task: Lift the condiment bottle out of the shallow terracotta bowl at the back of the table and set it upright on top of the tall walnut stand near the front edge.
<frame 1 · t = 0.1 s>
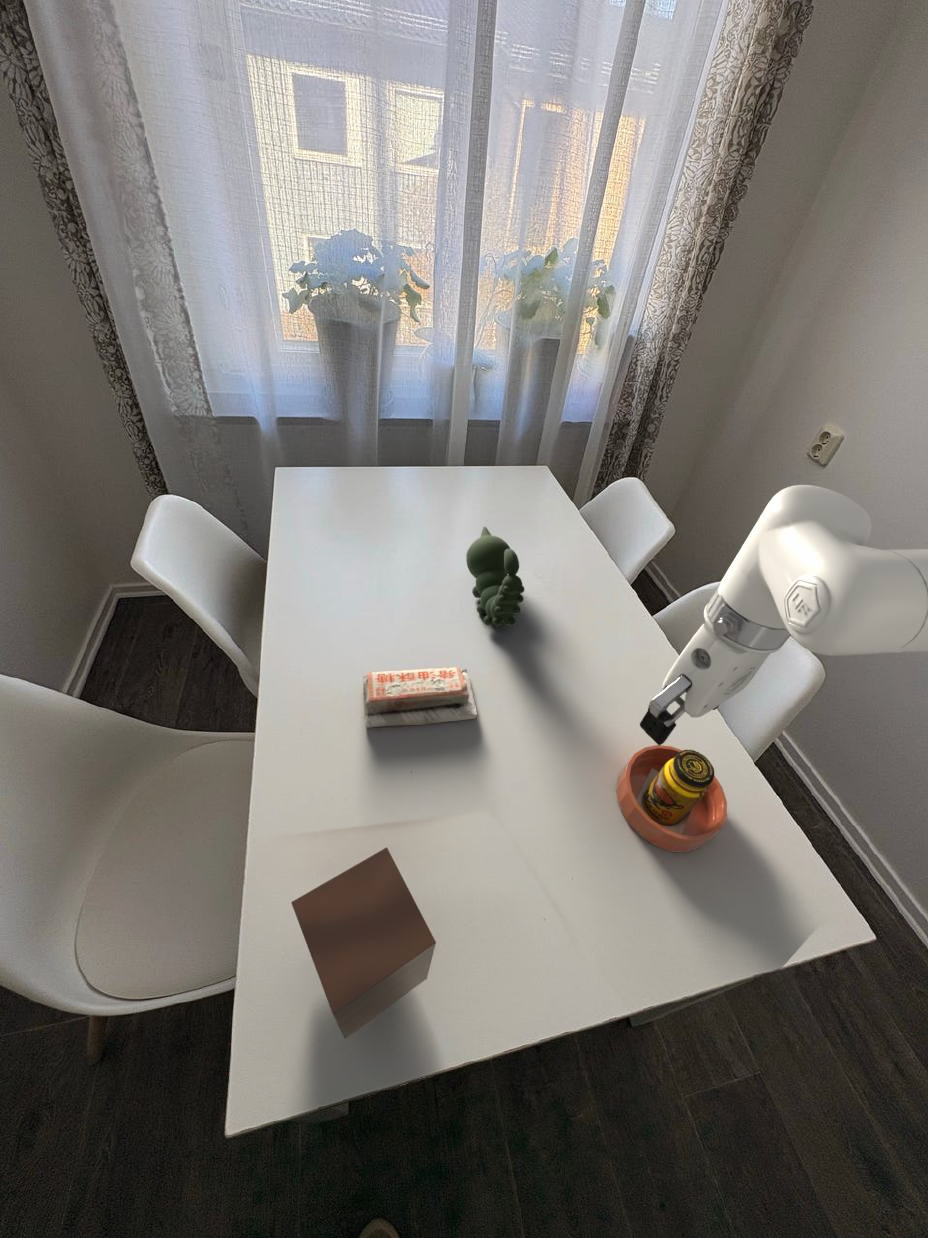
hand: (678, 717, 60), 22 cm above the table, tool pointing down, fingers open, 9 cm apart
dish: (664, 803, 77), on the table
stand: (365, 944, 53), on the table
toy figurine: (489, 600, 105), on the table
packaged product: (418, 700, 85), on the table
condiment: (664, 803, 77), resting on dish
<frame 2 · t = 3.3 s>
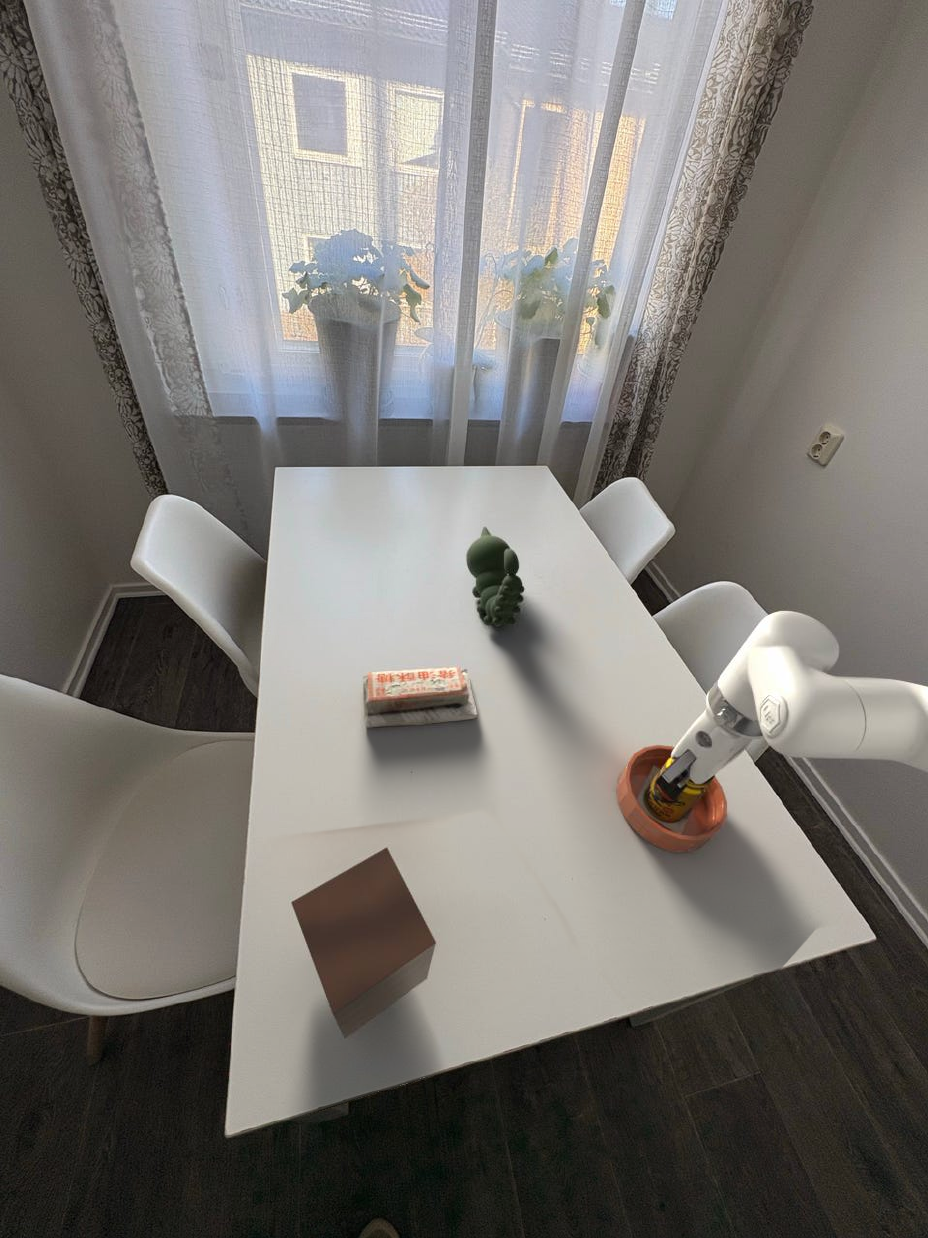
hand: (681, 778, 71), 8 cm above the table, tool pointing down, fingers closed on condiment, 6 cm apart
condiment: (665, 800, 77), resting on dish, touching gripper
everything else where it was.
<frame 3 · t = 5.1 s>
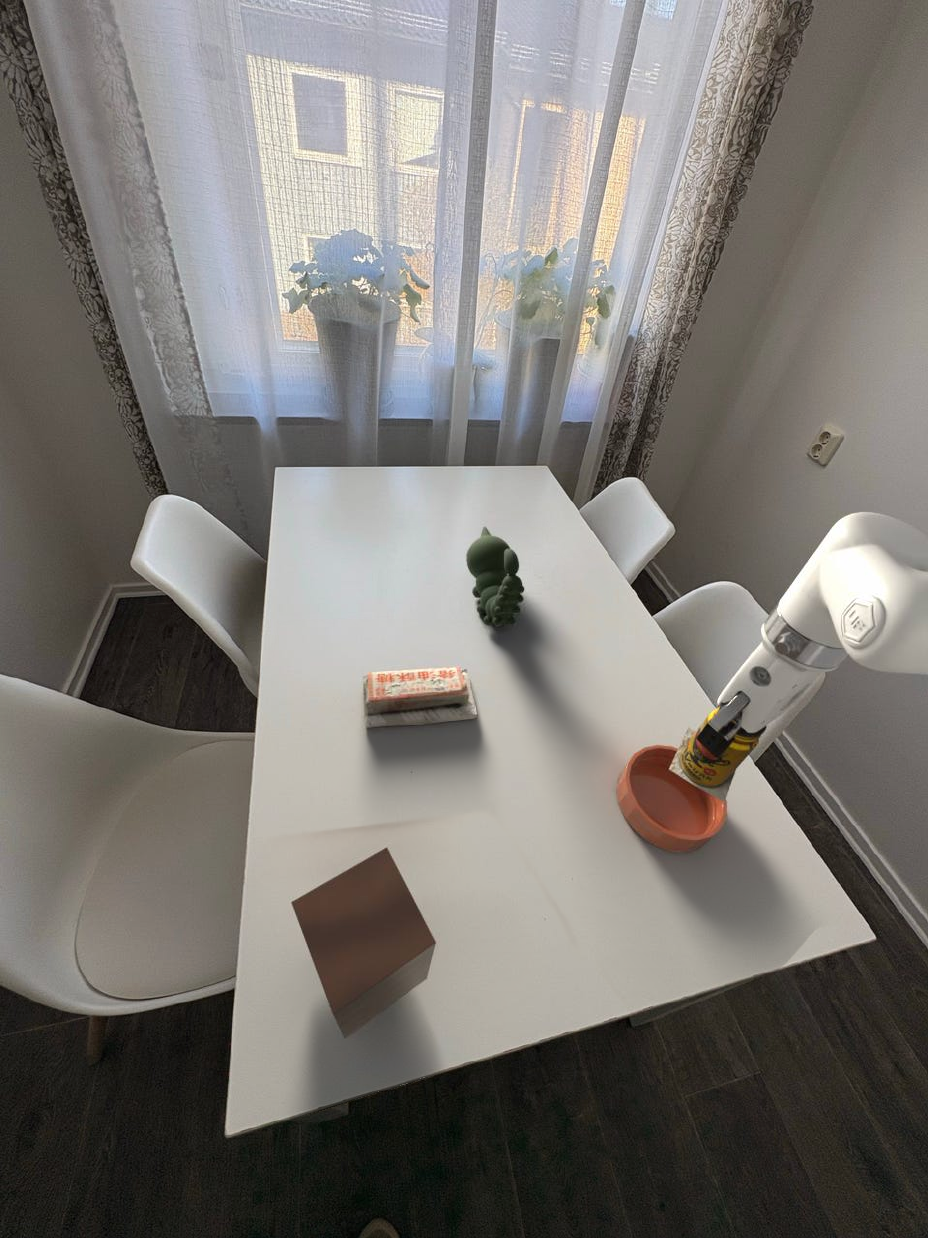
hand: (725, 735, 63), 20 cm above the table, tool pointing down, fingers closed on condiment, 6 cm apart
condiment: (704, 764, 68), point 12 cm above the table, touching gripper
everything else where it was.
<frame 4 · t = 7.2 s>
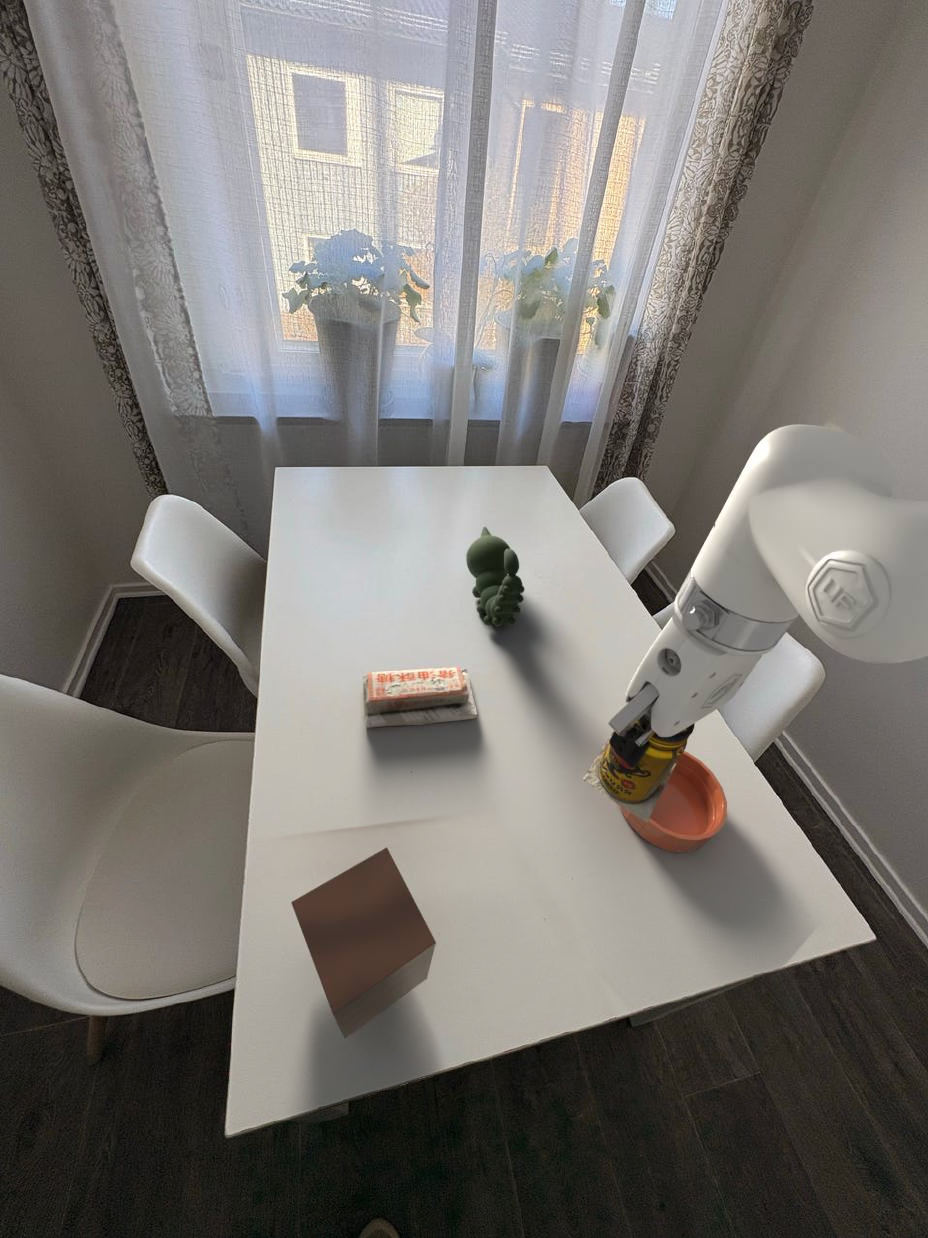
hand: (647, 738, 49), 29 cm above the table, tool pointing down, fingers closed on condiment, 6 cm apart
condiment: (628, 773, 55), point 22 cm above the table, touching gripper
everything else where it was.
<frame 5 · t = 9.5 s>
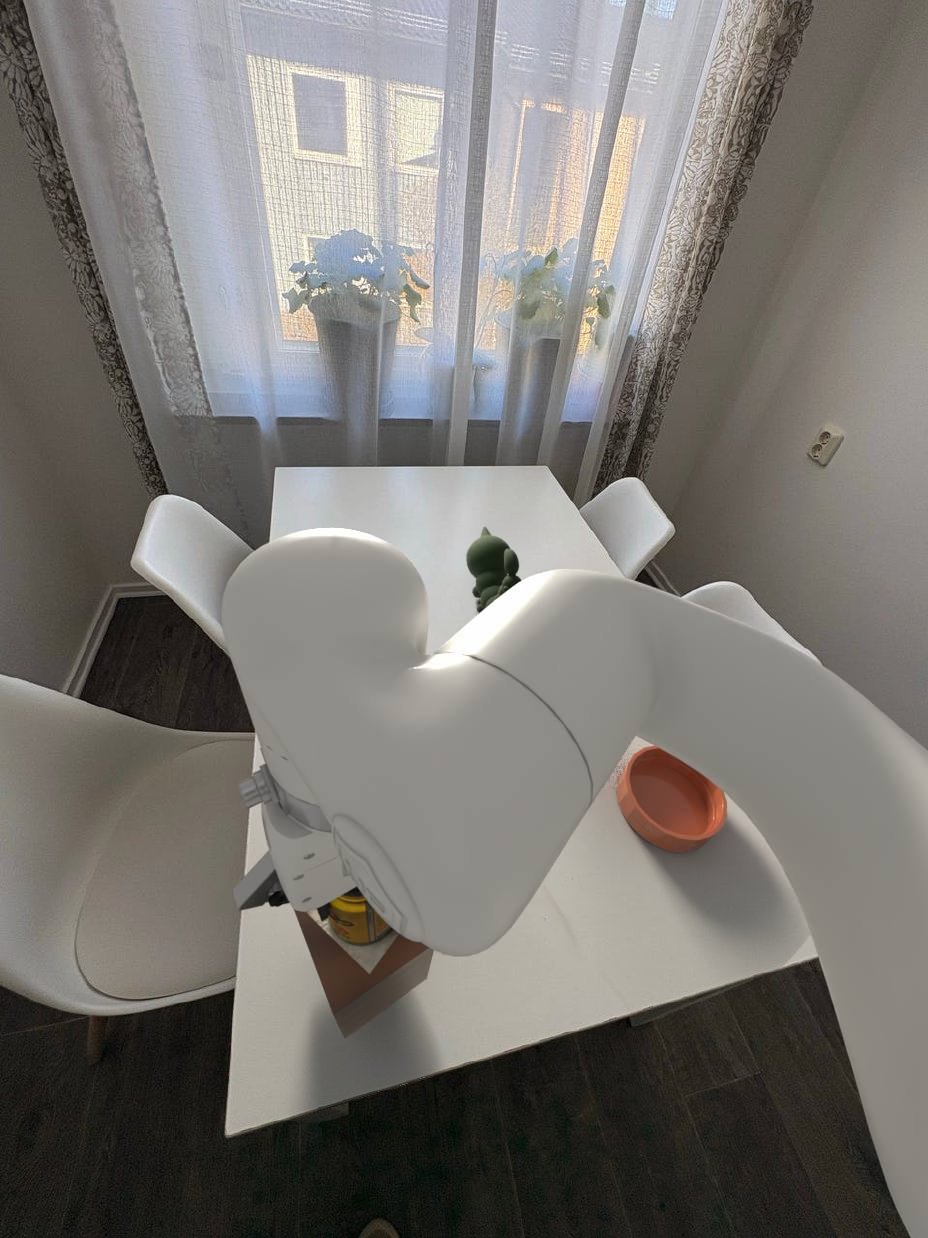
hand: (360, 874, 39), 28 cm above the table, tool pointing down, fingers closed on condiment, 6 cm apart
condiment: (372, 899, 45), point 21 cm above the table, touching gripper
everything else where it was.
when the fingers open (23 cm above the table, at t = 11.1 s): condiment stays where it is, resting on stand.
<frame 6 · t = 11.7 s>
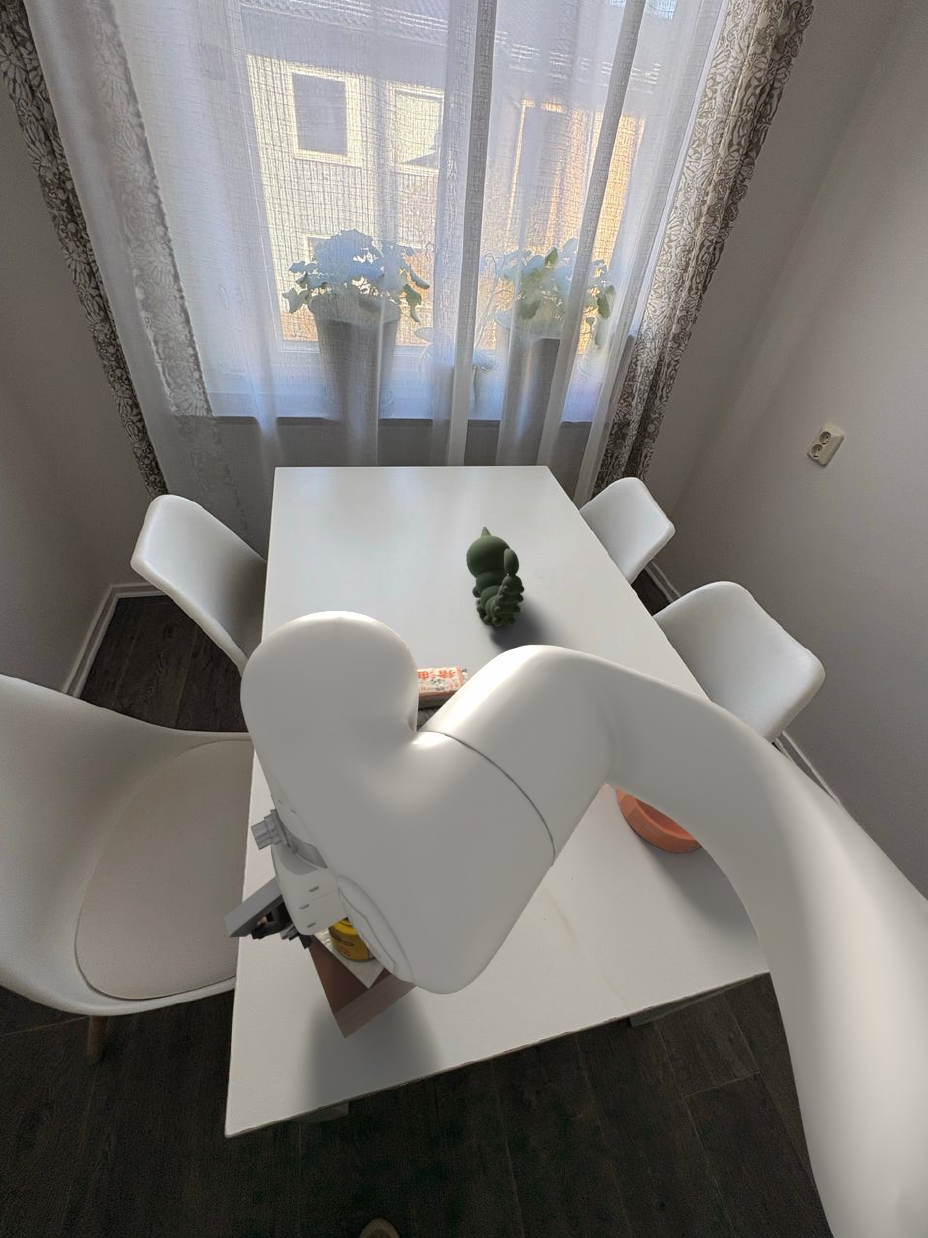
hand: (359, 892, 42), 24 cm above the table, tool pointing down, fingers open, 9 cm apart
condiment: (371, 917, 48), point 16 cm above the table, touching stand
everything else where it was.
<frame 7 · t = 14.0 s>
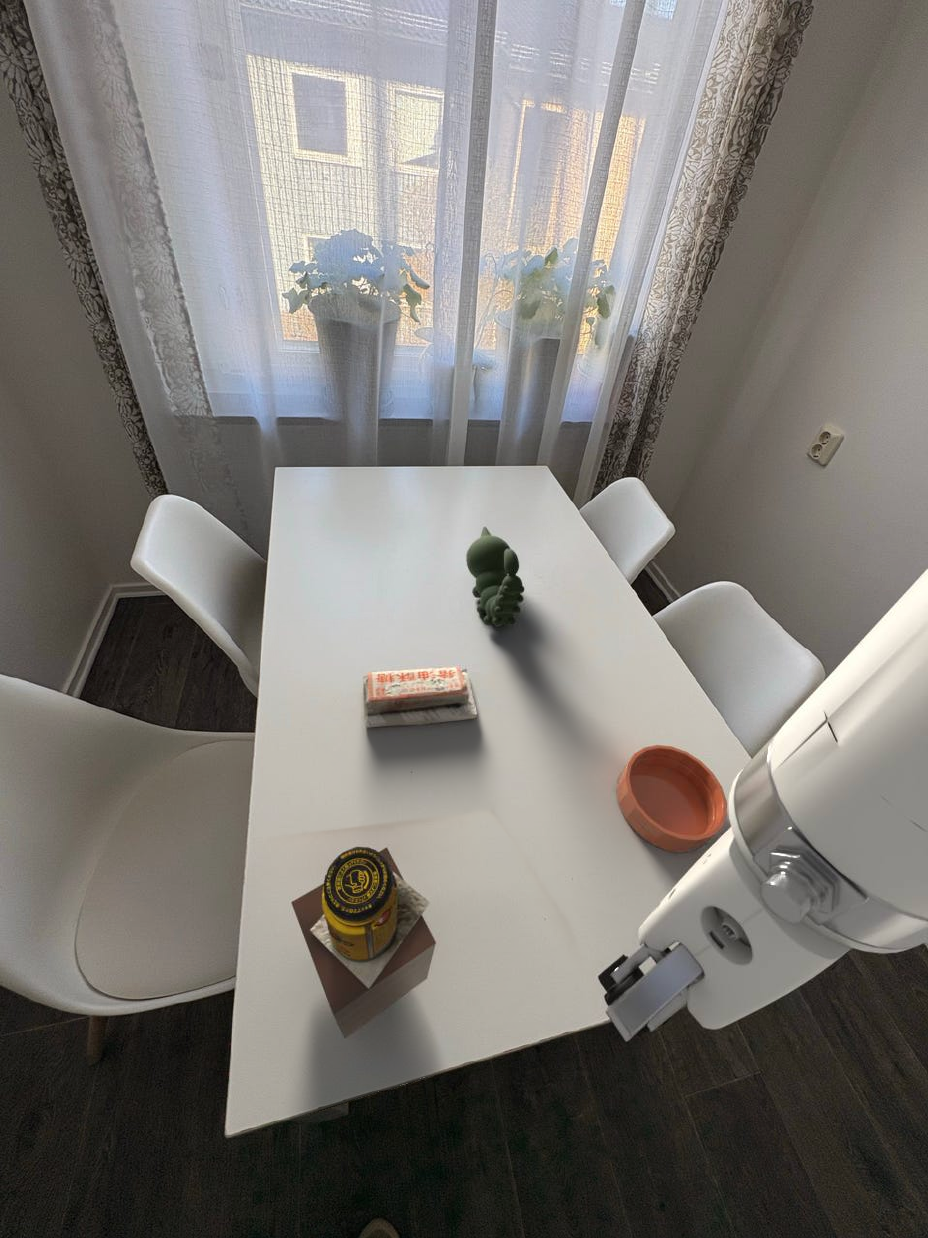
hand: (675, 948, 31), 36 cm above the table, tool pointing down, fingers open, 9 cm apart
nothing on the table moved.
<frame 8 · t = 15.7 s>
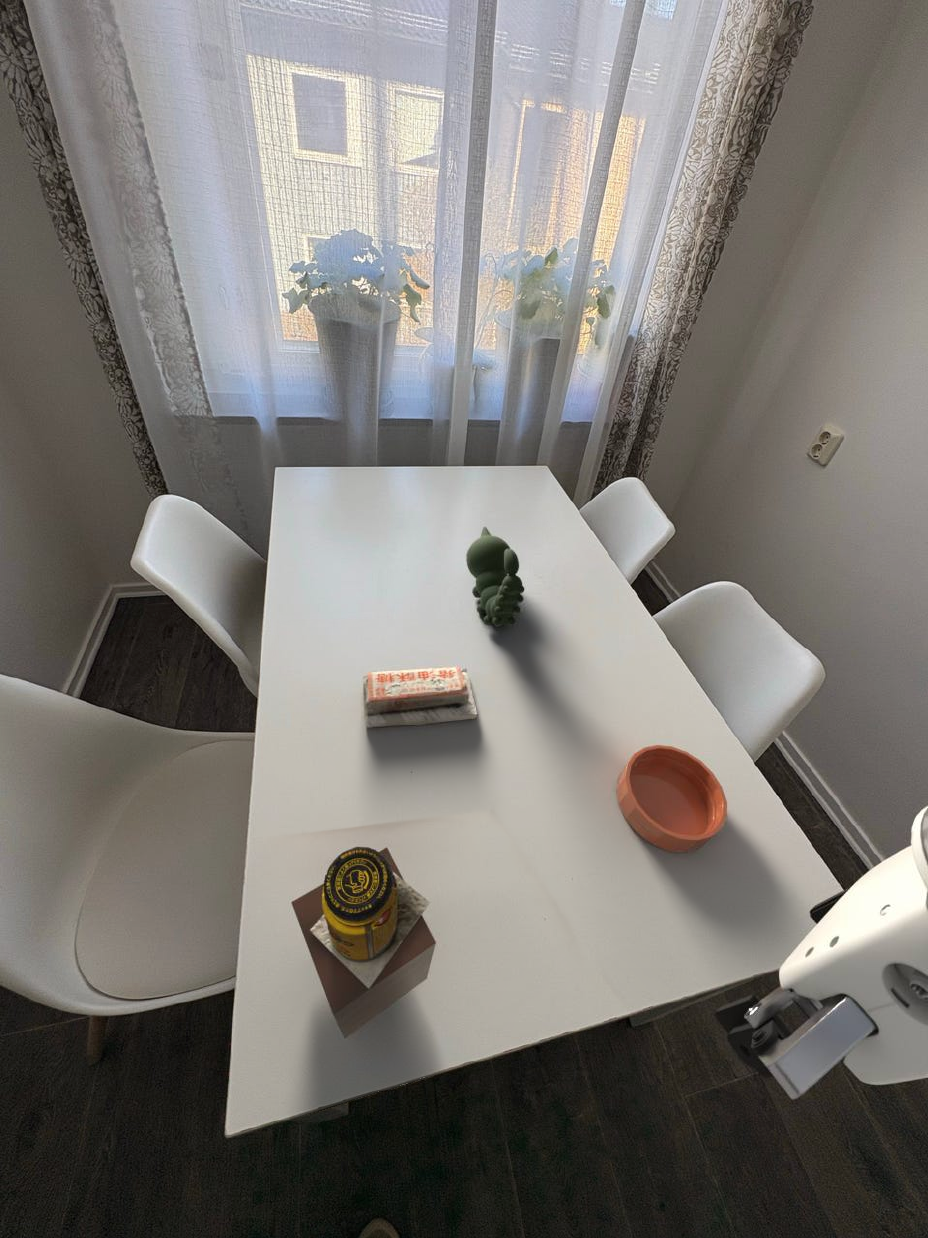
hand: (789, 984, 30), 36 cm above the table, tool pointing down, fingers open, 9 cm apart
nothing on the table moved.
at the end: condiment inside the target area on the stand (0.9 cm from its centre), point 7.8 cm above the stand's base; condiment touching stand; condiment tilted 0° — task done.
